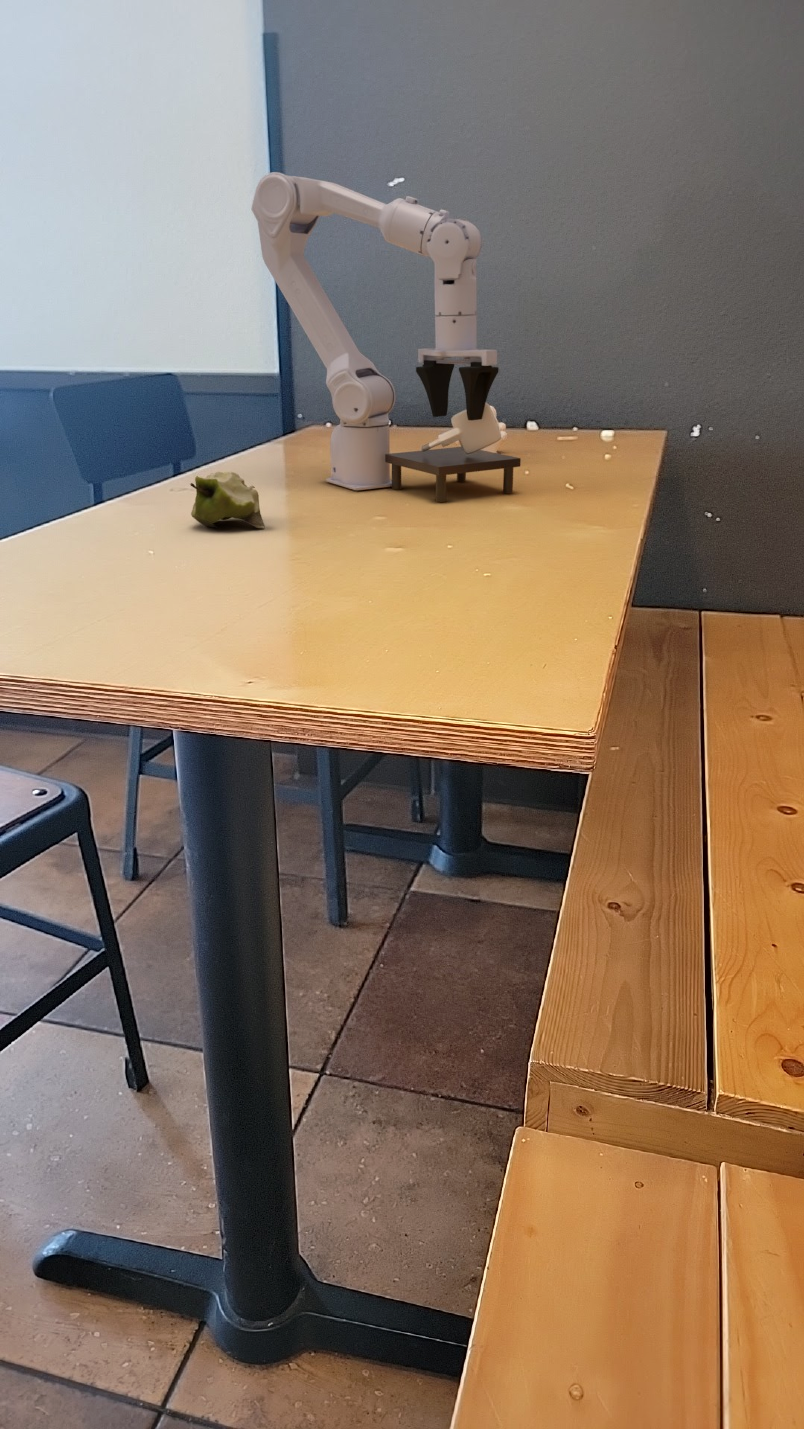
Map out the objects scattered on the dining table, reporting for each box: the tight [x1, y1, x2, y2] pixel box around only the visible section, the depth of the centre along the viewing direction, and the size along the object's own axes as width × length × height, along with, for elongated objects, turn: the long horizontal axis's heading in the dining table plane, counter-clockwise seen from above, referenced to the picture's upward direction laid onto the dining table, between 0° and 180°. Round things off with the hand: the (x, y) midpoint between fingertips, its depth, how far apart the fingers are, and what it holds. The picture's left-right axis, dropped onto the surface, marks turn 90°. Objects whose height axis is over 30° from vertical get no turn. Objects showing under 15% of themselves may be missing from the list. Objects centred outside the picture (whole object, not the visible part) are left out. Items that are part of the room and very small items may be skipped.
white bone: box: [454, 405, 508, 453], centre depth 182 cm, size 15×9×8 cm, turn 176°
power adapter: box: [421, 401, 501, 454], centre depth 151 cm, size 11×5×6 cm, turn 90°
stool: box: [385, 446, 522, 503], centre depth 154 cm, size 14×14×5 cm
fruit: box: [190, 471, 266, 530], centre depth 132 cm, size 9×9×8 cm
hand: (457, 418), depth 151 cm, fingers open, 7 cm apart
